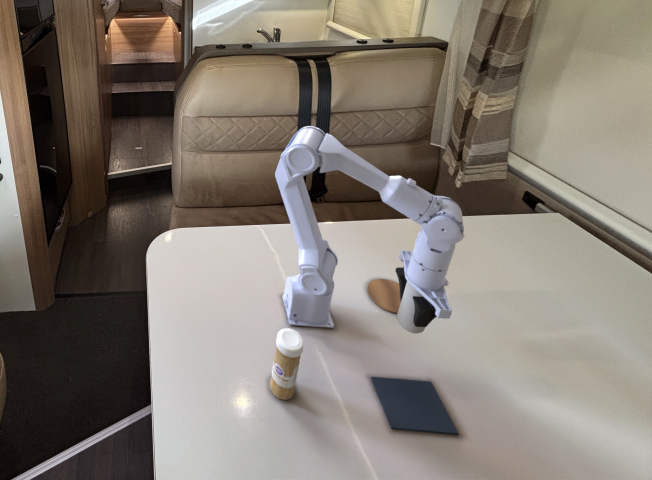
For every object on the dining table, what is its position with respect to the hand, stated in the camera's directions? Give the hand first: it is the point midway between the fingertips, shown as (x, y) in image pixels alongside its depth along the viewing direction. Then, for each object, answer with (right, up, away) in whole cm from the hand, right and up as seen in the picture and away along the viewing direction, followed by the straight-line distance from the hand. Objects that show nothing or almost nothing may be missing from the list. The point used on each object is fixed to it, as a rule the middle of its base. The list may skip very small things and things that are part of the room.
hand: (413, 313), depth 83 cm
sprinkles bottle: (-27, -13, -3) cm, 30 cm away
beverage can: (0, -3, +1) cm, 3 cm away
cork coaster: (+5, -4, +16) cm, 18 cm away
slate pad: (-4, -14, -6) cm, 15 cm away
